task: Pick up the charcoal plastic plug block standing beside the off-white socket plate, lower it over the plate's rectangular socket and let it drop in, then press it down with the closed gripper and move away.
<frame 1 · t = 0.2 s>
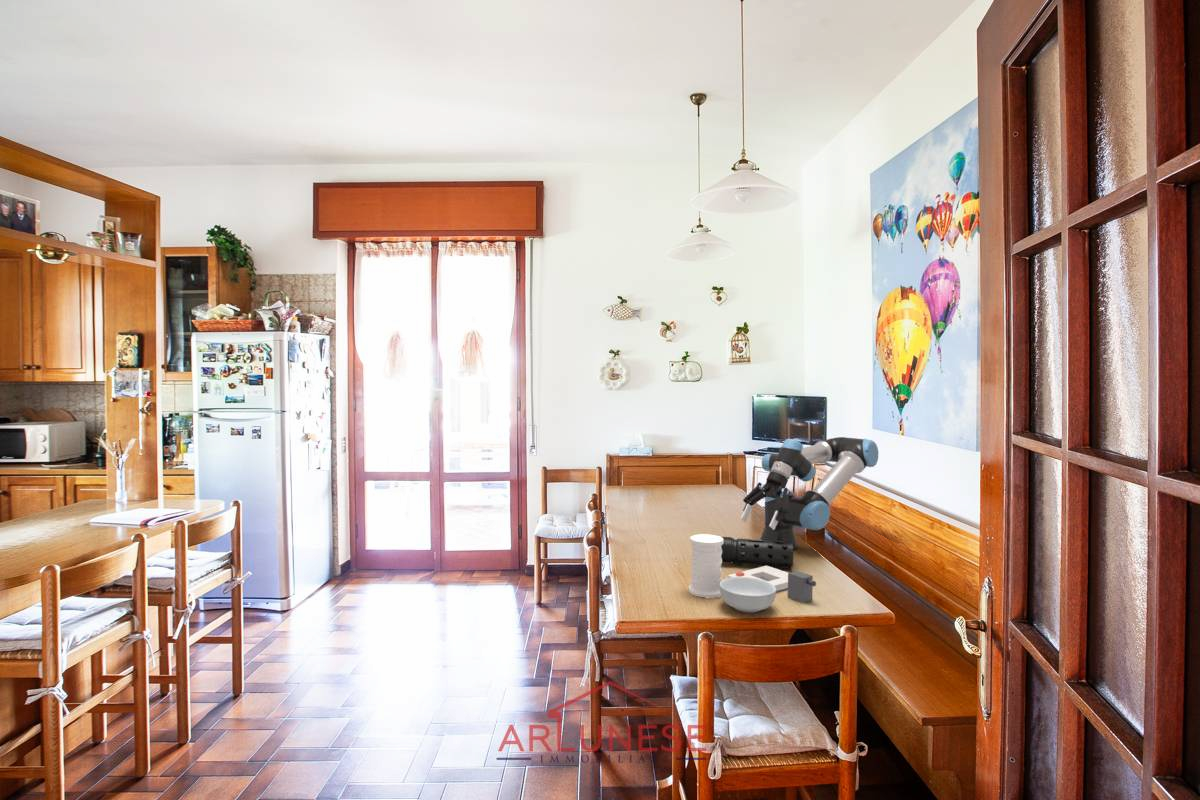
hand: (757, 524, 228), 16 cm above the table, tool tilted 35°, fingers open, 13 cm apart
socket plate: (765, 583, 208), on the table
cereal bowl: (747, 608, 186), on the table
decorative container: (706, 592, 200), on the table
muzzle brake: (753, 566, 228), on the table
plug: (799, 599, 194), on the table
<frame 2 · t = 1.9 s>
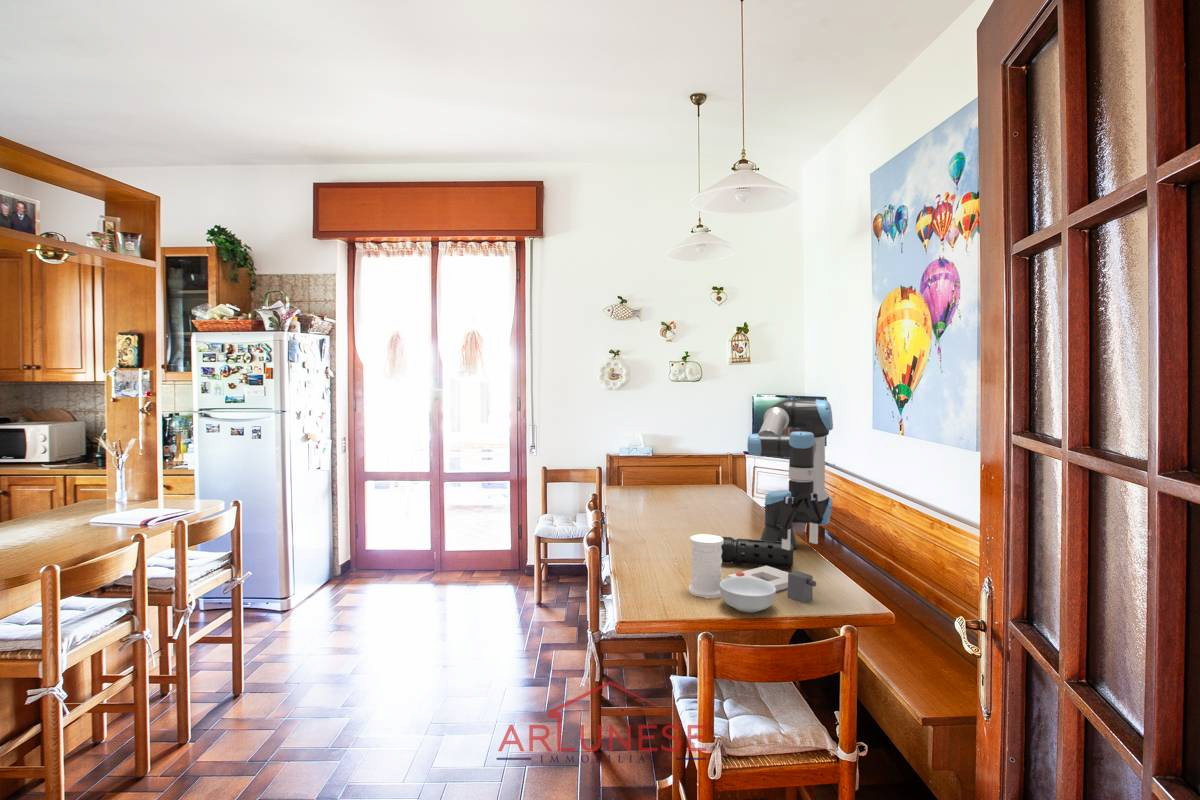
hand: (799, 546, 193), 17 cm above the table, tool pointing down, fingers open, 13 cm apart
nothing on the table moved.
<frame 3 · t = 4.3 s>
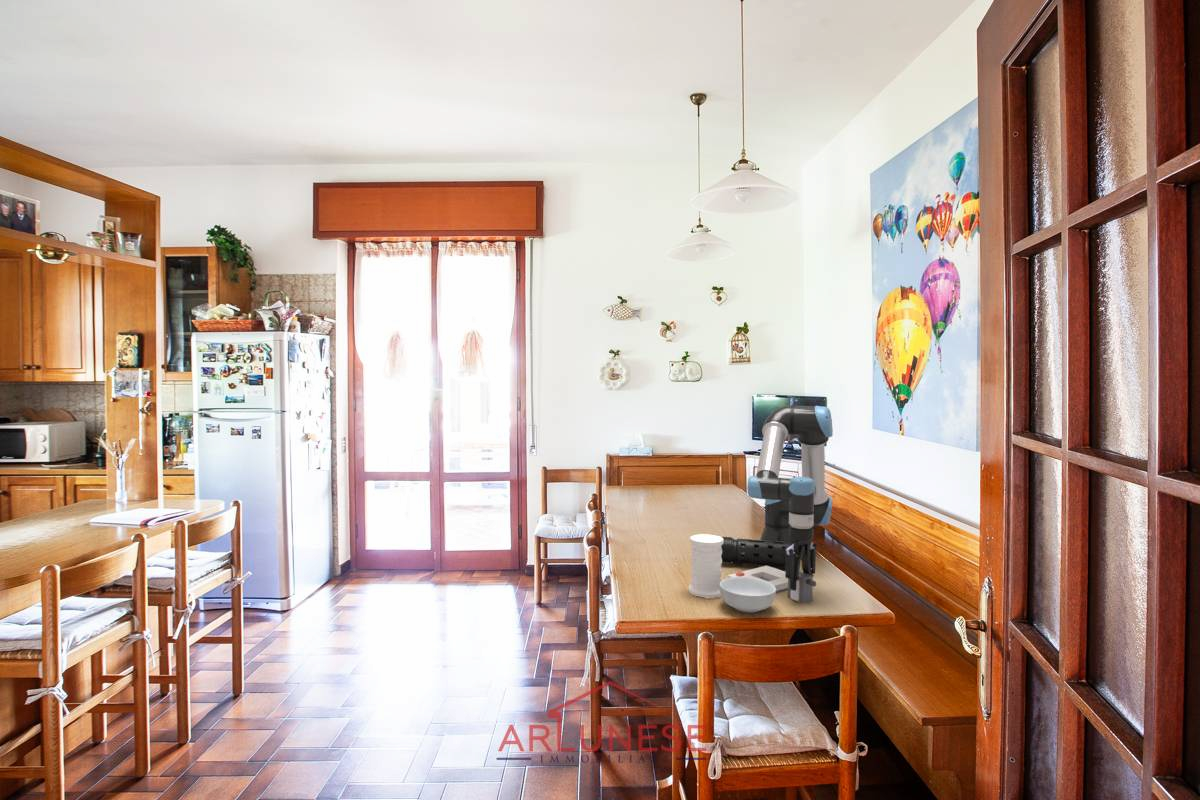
hand: (800, 597, 194), 0 cm above the table, tool pointing down, fingers closed on plug, 4 cm apart
plug: (800, 599, 194), on the table, touching gripper
everything else where it was.
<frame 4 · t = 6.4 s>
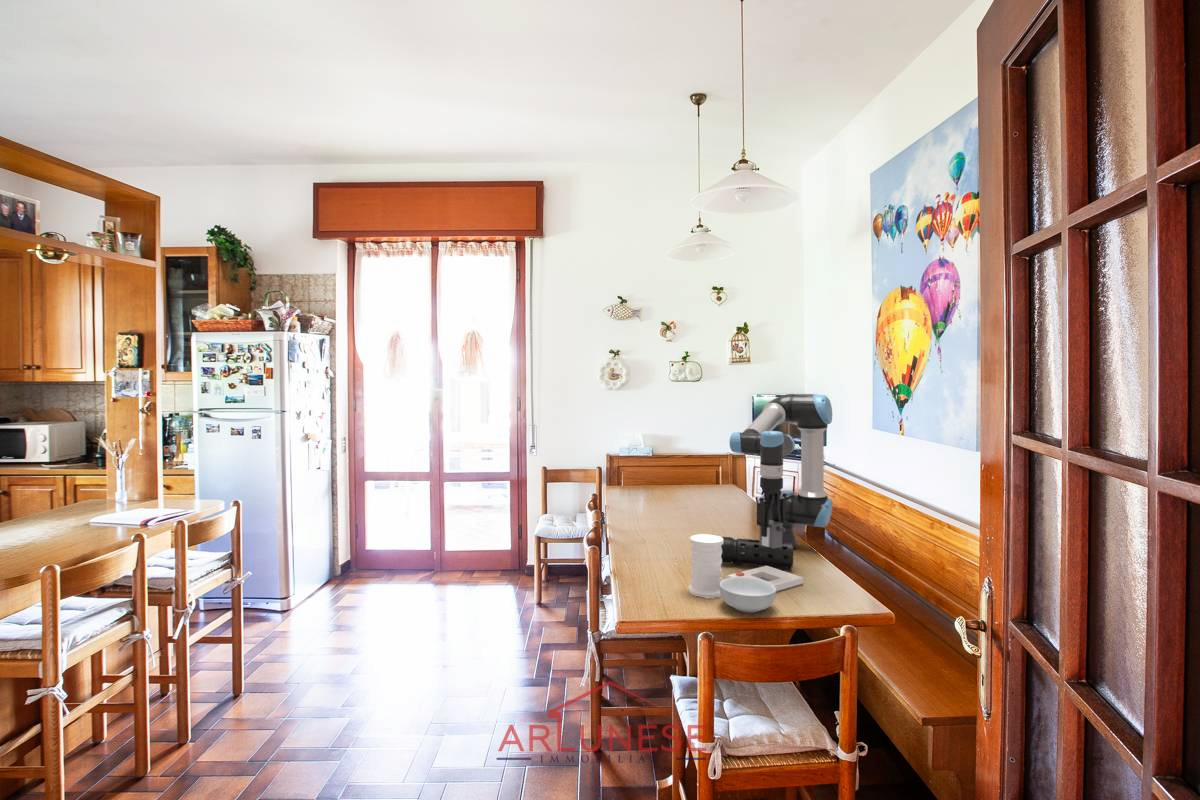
hand: (770, 544, 206), 14 cm above the table, tool pointing down, fingers closed on plug, 4 cm apart
plug: (770, 545, 206), point 14 cm above the table, touching gripper
everything else where it was.
when the fingers open (4 cm above the table, at t = 8.9 s): plug drops 3 cm, resting on socket plate.
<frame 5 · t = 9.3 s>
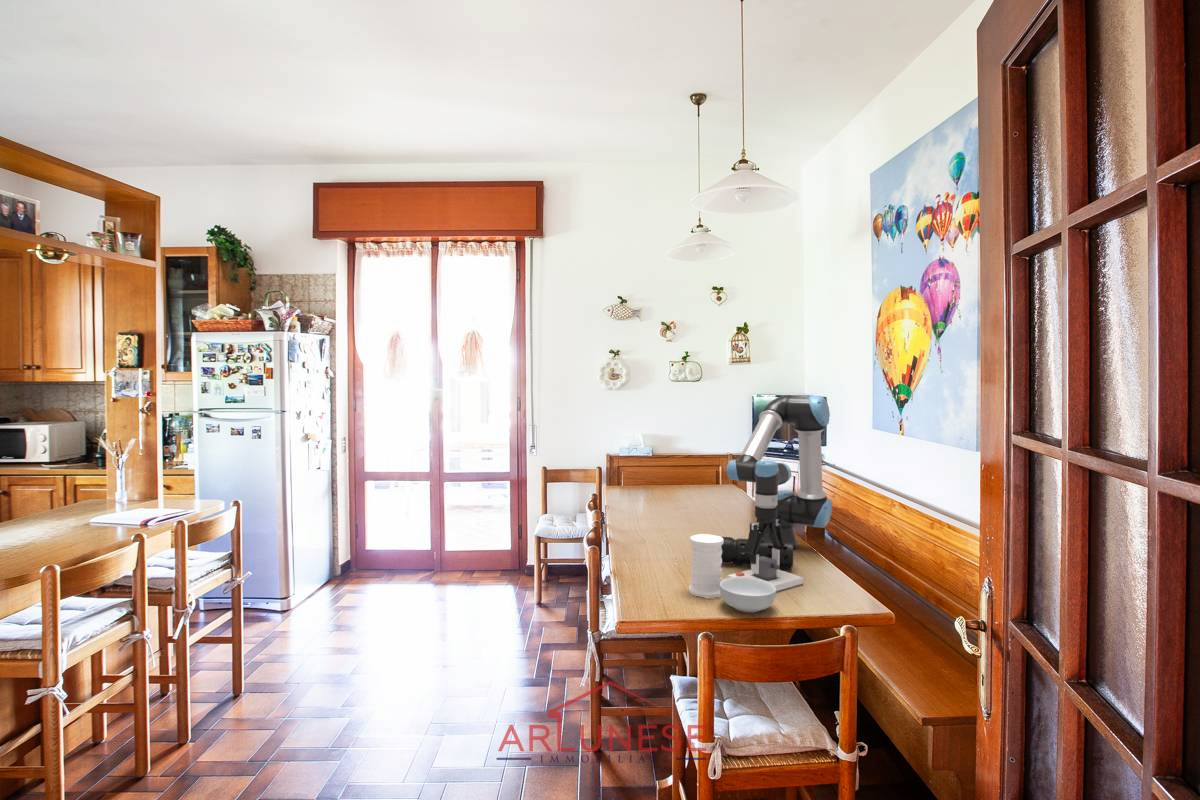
hand: (765, 570, 208), 5 cm above the table, tool pointing down, fingers open, 10 cm apart
plug: (765, 582, 208), resting on socket plate
everything else where it was.
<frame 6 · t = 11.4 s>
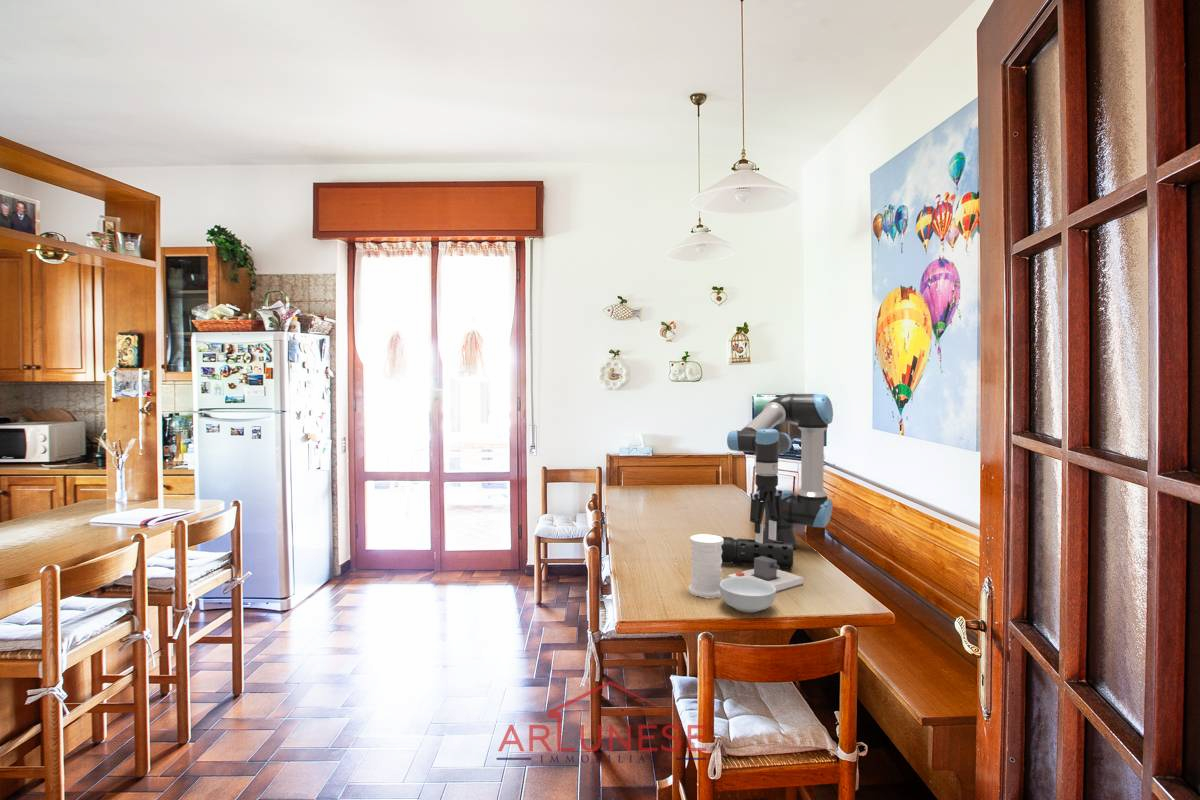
hand: (765, 540, 208), 15 cm above the table, tool pointing down, fingers open, 6 cm apart
nothing on the table moved.
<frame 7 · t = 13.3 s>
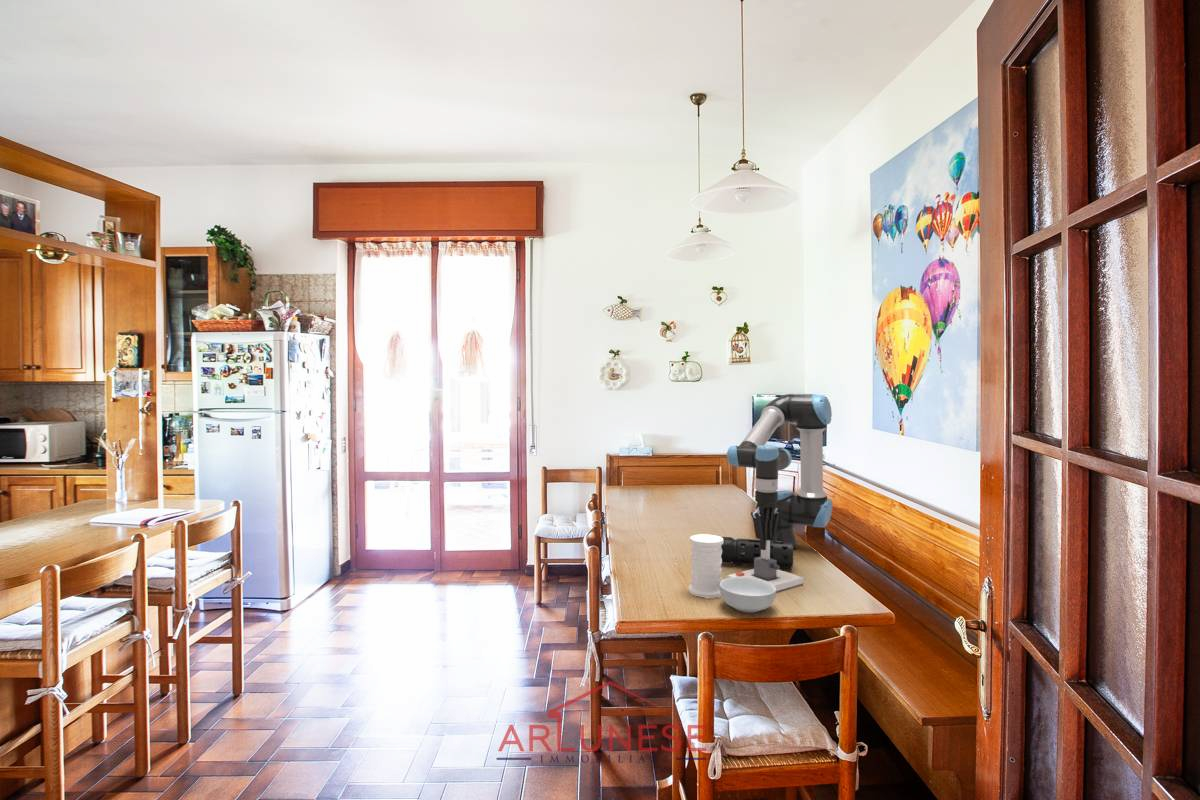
hand: (765, 558, 208), 9 cm above the table, tool pointing down, fingers closed
plug: (765, 582, 208), point 1 cm above the table, touching gripper, socket plate
everything else where it was.
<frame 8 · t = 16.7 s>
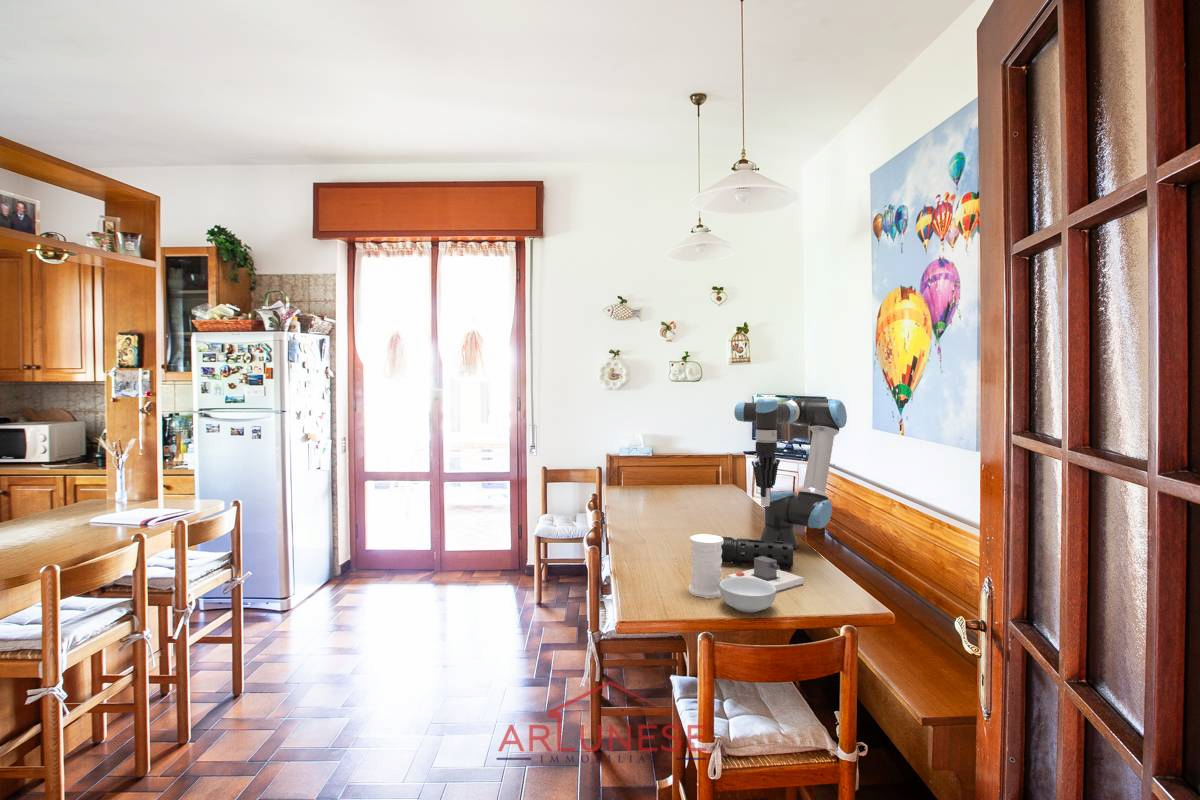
hand: (765, 505, 220), 24 cm above the table, tool pointing down, fingers closed
plug: (765, 582, 208), resting on socket plate
everything else where it was.
at the end: plug 0.0 cm off-centre on the socket plate, point 0.5 cm above the socket plate's base; plug tilted 0°; the gripper is holding nothing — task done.
